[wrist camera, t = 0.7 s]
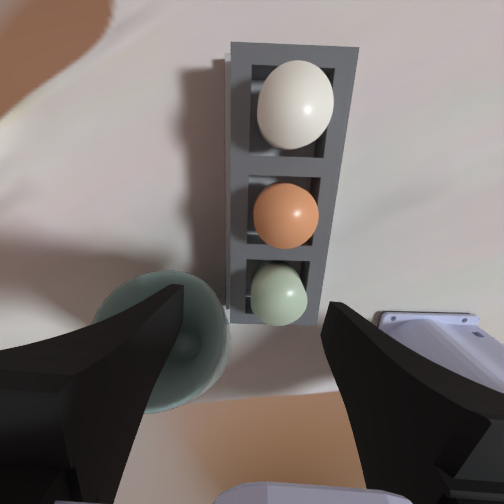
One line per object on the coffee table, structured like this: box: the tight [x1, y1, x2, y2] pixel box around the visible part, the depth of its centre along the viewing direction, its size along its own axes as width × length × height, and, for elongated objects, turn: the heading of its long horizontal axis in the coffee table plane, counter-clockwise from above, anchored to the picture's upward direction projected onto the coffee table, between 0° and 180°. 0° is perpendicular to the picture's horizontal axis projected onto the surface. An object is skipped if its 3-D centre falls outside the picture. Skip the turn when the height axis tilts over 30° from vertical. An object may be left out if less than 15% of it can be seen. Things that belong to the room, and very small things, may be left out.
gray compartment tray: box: [225, 42, 359, 325], centre depth 18 cm, size 8×20×3 cm, turn 178°
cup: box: [91, 270, 231, 414], centre depth 18 cm, size 8×8×10 cm
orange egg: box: [253, 182, 319, 249], centre depth 16 cm, size 4×4×3 cm
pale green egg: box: [251, 260, 307, 326], centre depth 18 cm, size 4×4×3 cm
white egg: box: [257, 60, 334, 151], centre depth 14 cm, size 4×4×3 cm
